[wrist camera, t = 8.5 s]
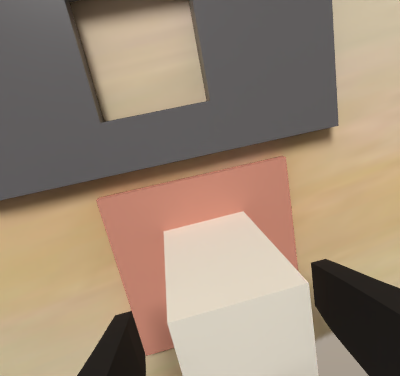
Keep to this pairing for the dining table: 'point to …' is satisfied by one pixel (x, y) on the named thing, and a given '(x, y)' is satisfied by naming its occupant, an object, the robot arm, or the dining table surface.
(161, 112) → the board
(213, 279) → the plug
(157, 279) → the mat
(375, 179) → the dining table surface
